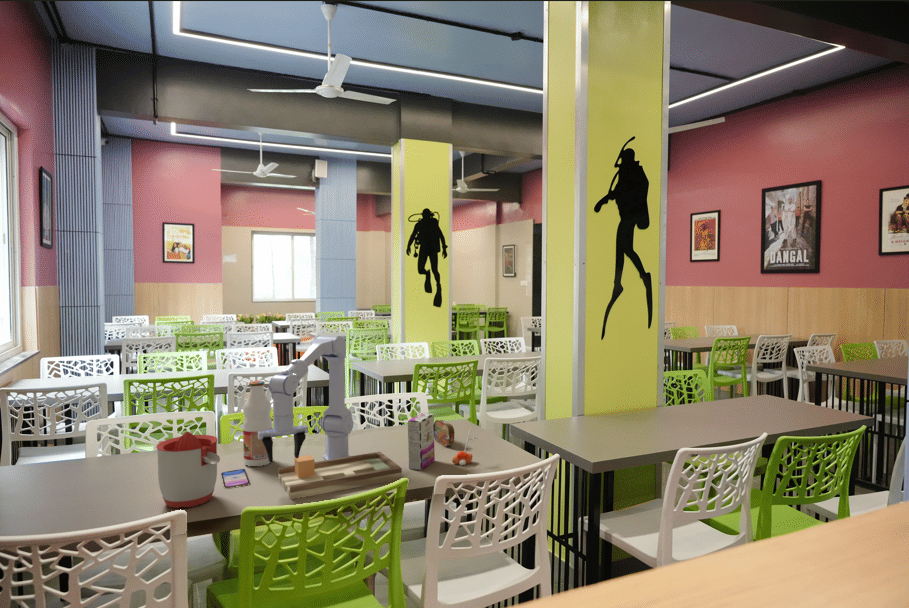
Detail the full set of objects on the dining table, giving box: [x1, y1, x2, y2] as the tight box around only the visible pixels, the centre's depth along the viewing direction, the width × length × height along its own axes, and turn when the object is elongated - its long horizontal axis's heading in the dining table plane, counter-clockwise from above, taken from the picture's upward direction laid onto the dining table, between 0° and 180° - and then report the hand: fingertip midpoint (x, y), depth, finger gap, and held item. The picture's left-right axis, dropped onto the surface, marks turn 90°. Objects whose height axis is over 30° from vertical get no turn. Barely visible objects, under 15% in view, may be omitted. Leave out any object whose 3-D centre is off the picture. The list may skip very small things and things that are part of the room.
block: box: [294, 454, 315, 478], centre depth 172 cm, size 5×5×5 cm
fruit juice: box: [242, 380, 274, 467], centre depth 189 cm, size 9×9×28 cm
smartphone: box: [220, 468, 251, 489], centre depth 174 cm, size 8×15×1 cm, turn 27°
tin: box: [434, 419, 456, 448], centre depth 211 cm, size 15×3×8 cm, turn 25°
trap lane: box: [277, 451, 403, 500], centre depth 174 cm, size 19×34×4 cm, turn 118°
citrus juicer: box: [155, 431, 221, 509], centre depth 156 cm, size 16×17×20 cm
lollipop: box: [451, 428, 478, 466], centre depth 188 cm, size 6×10×12 cm, turn 107°
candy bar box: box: [407, 412, 436, 471], centre depth 186 cm, size 11×5×16 cm, turn 159°
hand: (283, 459), depth 167 cm, fingers open, 7 cm apart
